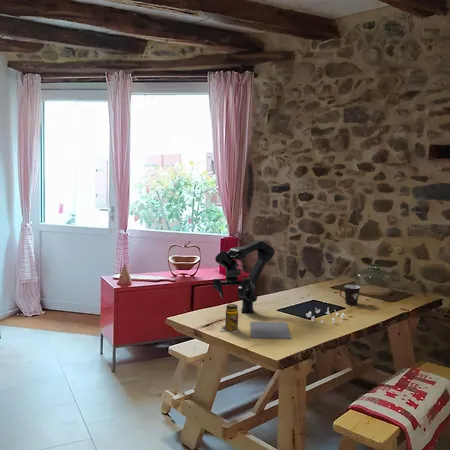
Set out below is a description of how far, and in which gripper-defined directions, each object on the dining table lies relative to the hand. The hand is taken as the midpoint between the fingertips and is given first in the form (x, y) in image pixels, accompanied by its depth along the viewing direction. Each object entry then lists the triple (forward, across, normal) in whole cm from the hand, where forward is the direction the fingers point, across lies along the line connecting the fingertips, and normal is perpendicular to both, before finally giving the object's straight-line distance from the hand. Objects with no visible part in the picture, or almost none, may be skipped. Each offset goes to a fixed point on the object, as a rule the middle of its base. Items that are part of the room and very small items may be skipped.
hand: (232, 298), depth 253 cm
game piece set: (+2, +48, +20) cm, 52 cm away
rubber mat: (+15, +18, +4) cm, 24 cm away
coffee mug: (-16, +67, +41) cm, 80 cm away
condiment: (+15, -2, +4) cm, 15 cm away
